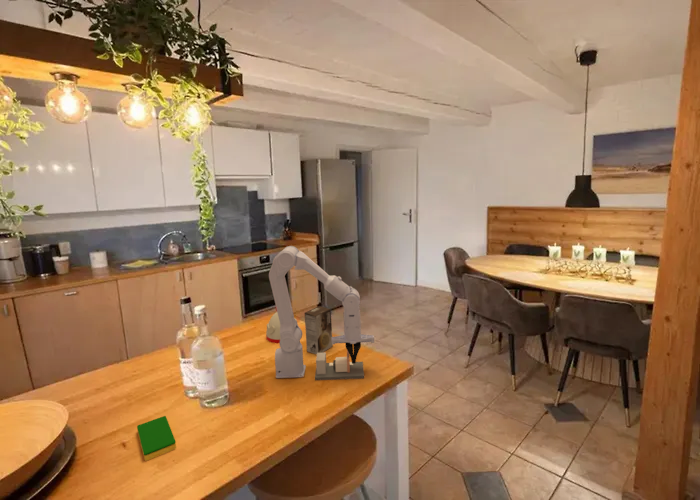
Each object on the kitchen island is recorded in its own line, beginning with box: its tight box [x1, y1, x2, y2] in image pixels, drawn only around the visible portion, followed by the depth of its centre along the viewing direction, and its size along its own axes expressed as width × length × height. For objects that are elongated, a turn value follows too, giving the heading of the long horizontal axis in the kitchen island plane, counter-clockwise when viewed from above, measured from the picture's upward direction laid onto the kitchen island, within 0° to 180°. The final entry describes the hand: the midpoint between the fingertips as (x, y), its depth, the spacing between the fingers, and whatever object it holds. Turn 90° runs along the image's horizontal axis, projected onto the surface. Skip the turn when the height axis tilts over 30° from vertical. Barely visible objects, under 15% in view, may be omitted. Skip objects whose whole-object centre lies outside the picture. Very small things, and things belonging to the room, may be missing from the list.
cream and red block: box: [332, 349, 351, 372], centre depth 129 cm, size 6×8×5 cm
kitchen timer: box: [265, 306, 298, 344], centre depth 160 cm, size 14×14×15 cm
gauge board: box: [314, 351, 365, 381], centre depth 129 cm, size 16×10×6 cm, turn 91°
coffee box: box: [304, 305, 334, 355], centre depth 146 cm, size 9×6×16 cm
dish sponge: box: [136, 415, 177, 462], centre depth 97 cm, size 7×14×2 cm, turn 36°
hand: (353, 362), depth 129 cm, fingers closed
